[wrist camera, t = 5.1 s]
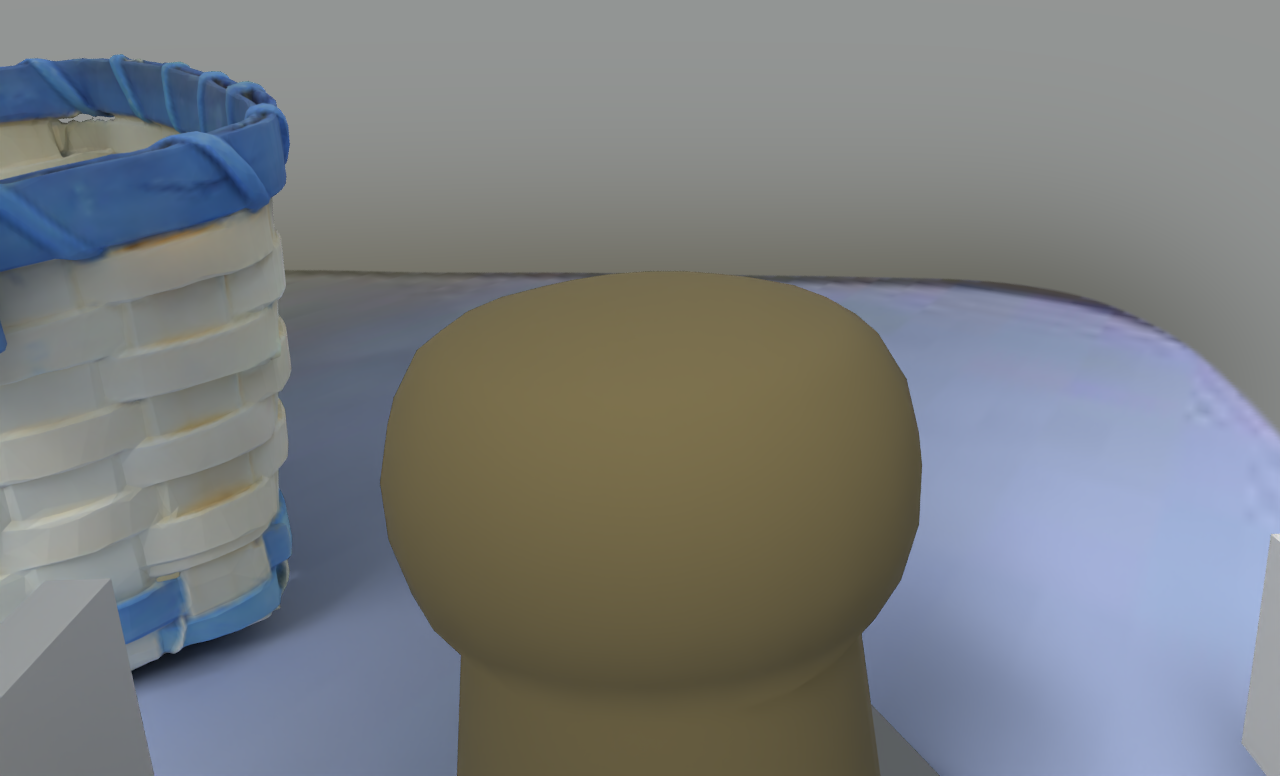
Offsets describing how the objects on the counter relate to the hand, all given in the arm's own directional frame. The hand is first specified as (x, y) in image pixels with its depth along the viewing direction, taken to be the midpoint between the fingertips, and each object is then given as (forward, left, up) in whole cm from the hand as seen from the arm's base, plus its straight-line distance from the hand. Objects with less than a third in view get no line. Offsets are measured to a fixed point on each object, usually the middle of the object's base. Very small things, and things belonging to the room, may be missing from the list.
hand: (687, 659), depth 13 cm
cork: (+1, -1, -7) cm, 7 cm away
